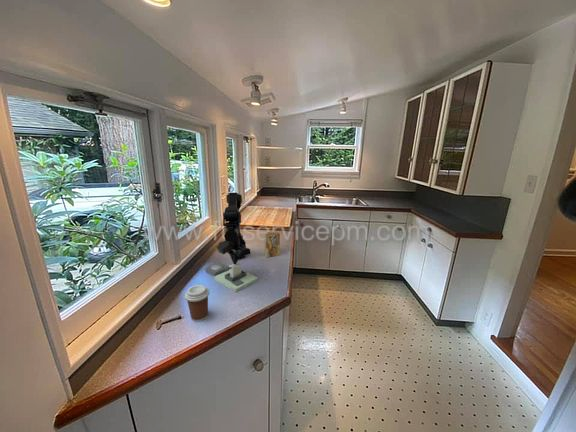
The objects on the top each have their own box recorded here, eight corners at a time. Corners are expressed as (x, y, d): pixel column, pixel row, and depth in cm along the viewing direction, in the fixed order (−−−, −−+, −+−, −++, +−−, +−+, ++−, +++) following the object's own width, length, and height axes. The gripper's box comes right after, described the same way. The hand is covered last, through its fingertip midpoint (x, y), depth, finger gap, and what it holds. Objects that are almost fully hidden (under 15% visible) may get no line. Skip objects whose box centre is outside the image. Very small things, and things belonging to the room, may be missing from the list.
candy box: (278, 253, 156) (277, 230, 153) (280, 255, 153) (279, 232, 149) (264, 255, 154) (264, 232, 150) (266, 257, 150) (265, 234, 146)
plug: (228, 282, 118) (227, 269, 117) (225, 280, 120) (224, 267, 118) (242, 275, 125) (241, 263, 123) (238, 273, 127) (238, 261, 125)
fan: (205, 271, 132) (205, 267, 131) (219, 266, 139) (219, 261, 138) (215, 277, 126) (214, 272, 126) (229, 271, 133) (228, 266, 132)
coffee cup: (214, 318, 95) (211, 291, 92) (190, 327, 90) (186, 298, 87) (208, 306, 102) (205, 280, 99) (185, 313, 98) (182, 287, 95)
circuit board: (214, 279, 124) (213, 273, 123) (236, 269, 135) (235, 263, 134) (235, 291, 113) (235, 285, 112) (257, 280, 123) (257, 274, 122)
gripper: (207, 234, 118) (210, 264, 122) (230, 243, 106) (233, 276, 110) (226, 229, 126) (228, 257, 130) (250, 237, 114) (251, 267, 118)
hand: (234, 264), depth 122 cm, fingers closed
